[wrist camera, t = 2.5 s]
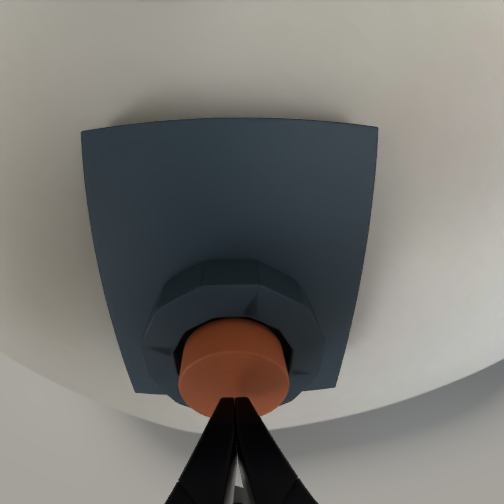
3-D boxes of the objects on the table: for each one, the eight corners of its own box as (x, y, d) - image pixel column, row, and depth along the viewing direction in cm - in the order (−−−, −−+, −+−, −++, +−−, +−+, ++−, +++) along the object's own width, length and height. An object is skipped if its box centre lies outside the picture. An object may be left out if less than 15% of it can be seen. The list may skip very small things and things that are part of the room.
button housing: (324, 359, 16) (345, 414, 12) (142, 363, 15) (127, 420, 12) (354, 125, 11) (406, 130, 7) (104, 129, 10) (53, 135, 7)
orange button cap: (279, 385, 12) (285, 419, 10) (189, 387, 11) (186, 421, 10) (285, 314, 10) (295, 348, 9) (177, 317, 10) (169, 351, 8)
